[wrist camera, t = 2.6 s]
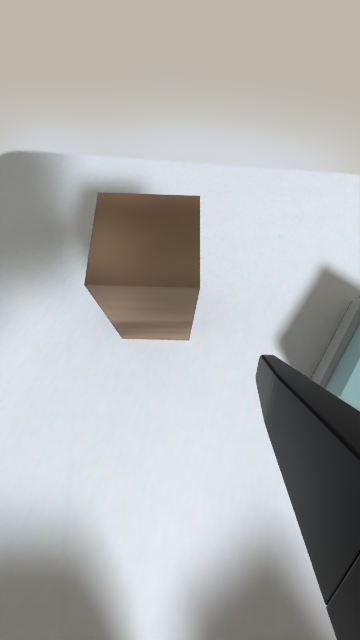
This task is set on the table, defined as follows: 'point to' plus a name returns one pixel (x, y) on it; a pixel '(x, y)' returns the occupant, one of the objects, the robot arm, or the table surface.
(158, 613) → the table surface
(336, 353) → the grey base slab
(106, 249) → the walnut block
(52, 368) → the table surface
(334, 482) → the robot arm
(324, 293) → the table surface
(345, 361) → the teal top slab
